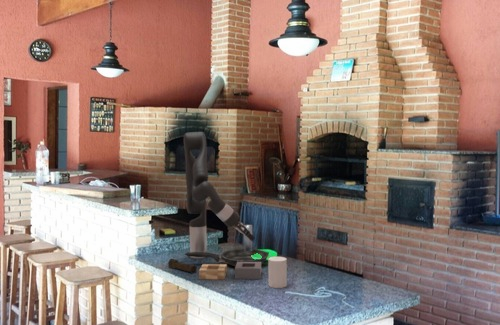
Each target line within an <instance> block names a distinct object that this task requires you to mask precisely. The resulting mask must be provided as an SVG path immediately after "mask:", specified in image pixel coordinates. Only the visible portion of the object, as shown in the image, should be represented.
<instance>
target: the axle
mask: <svg viewBox="0 0 500 325" xmlns="http://www.w3.org/2000/svg"><path fill="white" fill-rule="evenodd" d="M243 225H244V226H245V227H246V228H247V230H248V231H250V233H251V234H252V235H253V224H243ZM246 233H247V231H246V232H245V234H246ZM243 249H244V251H252V249H253V241H251V240H250V239H249V238H248V237H247V236H245V235H244V234H243Z"/></svg>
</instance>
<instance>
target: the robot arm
mask: <svg viewBox="0 0 500 325" xmlns="http://www.w3.org/2000/svg"><path fill="white" fill-rule="evenodd" d="M183 148H184V157H185V158H184V159H185V182H186V184H185V185H186V211H187V213H188V214H193V215H198V214H199V215H198V217H196V218H194V219H191V220H190V221H189V252H206V253H208V250H207V248H208V246H207V238H208V237H207V235H208V234H207V206H208V209H210V211H211V212H213V213H214V214H215V215H216V216H217V217H218V218H219V219H220V220H221V222H223V223H224V225H225V226H226V227H228V228H231V227H233V228H234V229H235V230H237V231H238V232H239V233H241V234H242V235H243V236H244V235H245V236H247V237H248V238H249V239H250V240H251V241H252V242H253V241H254V240H256V238H255V236H254V235H253V233H252V234H251V233H250V231H248V230H247V228H246V227H245V226H244V225H245V224H244V223H243V222H242V221H240V215H239V214H238V212H237V211H235V209H233V208H232V207H231V206H230V205H229V204H228V203H226V201H225V200H223V199H222V198H221V196H220V195H219V194H218V192H217V190H216V188H215V187H214V185H213V184H212V183H211V182H210V181H208V180H209V172H208V167H207V166H208V165H207V163H208V161H207V155H208V154H207V153H208V152H207V137H206V134H205V132H203V131H191V132H185V133H184V134H183ZM192 151H199V154H198V156H197V158H195V156H194V154H193V153H192ZM207 198H210V200H209V202H208V204H207ZM246 231H247V233H246V234H245V232H246ZM189 257H190V258H191V259H204V258H206V257H193V256H189Z"/></svg>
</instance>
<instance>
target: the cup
mask: <svg viewBox="0 0 500 325" xmlns="http://www.w3.org/2000/svg"><path fill="white" fill-rule="evenodd" d="M287 259H288V258H286V257H284V256H271V257H268V259H267V264H268V266H267V267H268V269H267V270H268V287H270V288H274V289H283V288H286V287H287V278H288V276H287V274H288V273H287V272H288V271H287V264H288V263H287Z"/></svg>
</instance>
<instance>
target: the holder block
mask: <svg viewBox="0 0 500 325" xmlns="http://www.w3.org/2000/svg"><path fill="white" fill-rule="evenodd" d="M234 278H235V280H243V279H245V280H261V279H262V264H261V262H237V264H236V266H234Z"/></svg>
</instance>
